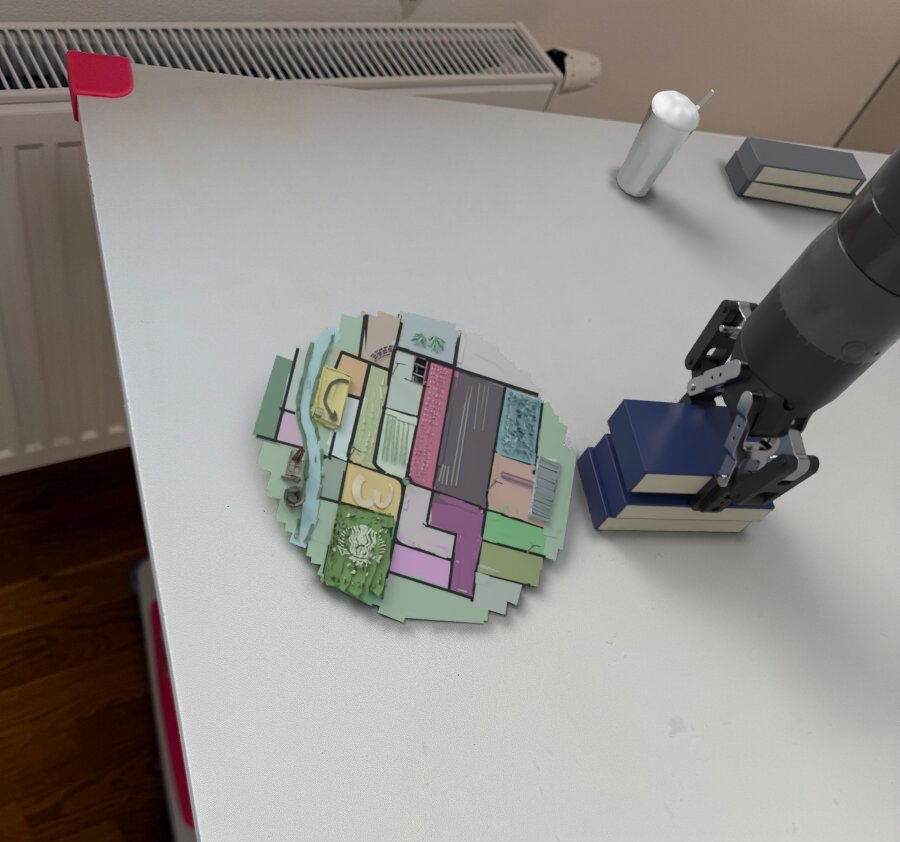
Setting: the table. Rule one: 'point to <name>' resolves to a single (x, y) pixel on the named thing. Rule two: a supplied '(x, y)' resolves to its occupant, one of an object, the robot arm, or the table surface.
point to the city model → (416, 466)
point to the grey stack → (795, 174)
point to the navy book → (670, 444)
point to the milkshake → (658, 140)
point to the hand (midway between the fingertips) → (688, 467)
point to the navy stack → (649, 501)
